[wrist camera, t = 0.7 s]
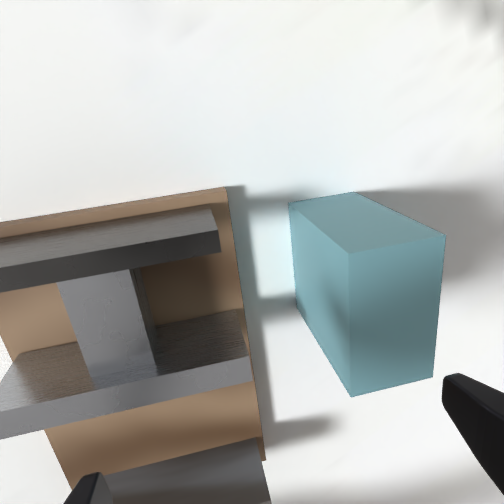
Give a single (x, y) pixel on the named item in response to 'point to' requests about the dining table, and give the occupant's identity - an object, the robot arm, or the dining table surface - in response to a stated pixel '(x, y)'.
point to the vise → (163, 413)
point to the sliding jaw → (115, 322)
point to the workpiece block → (367, 288)
